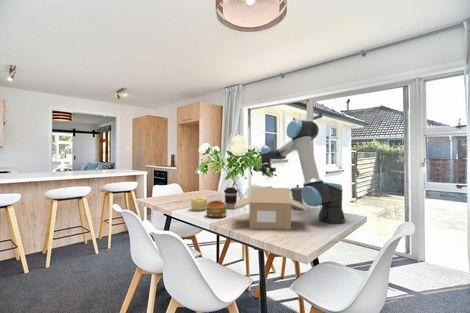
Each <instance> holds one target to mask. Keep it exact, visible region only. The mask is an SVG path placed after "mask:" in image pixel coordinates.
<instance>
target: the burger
mask: <svg viewBox="0 0 470 313" xmlns="http://www.w3.org/2000/svg"><path fill="white" fill-rule="evenodd" d="M205 211H206V215H207V217H208V218H215V219H216V218H223V217H225V216H226V214H227V213H228V211H227V207H226V203H225V202H224V201H222V200H212V201H209V202H207V207H206V209H205Z"/></svg>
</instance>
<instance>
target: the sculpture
mask: <svg viewBox="0 0 470 313" xmlns="http://www.w3.org/2000/svg"><path fill="white" fill-rule="evenodd" d="M207 204H208V197H207V196H204V195H201V194H198V195H194V196H193V197H191V202H190V206H191V209H192V210H193V211H195V212H202V211H206V208H207Z"/></svg>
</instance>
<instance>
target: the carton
mask: <svg viewBox="0 0 470 313" xmlns="http://www.w3.org/2000/svg"><path fill="white" fill-rule="evenodd" d="M250 202H251V196H248V197H246V198H242V199H239V200H236V204H235V207H234V209H233V210H235V209H238V208H241V207H244V206H246V205H249V229H250V230H268V231H269V230H270V231H271V230H274V231H275V230H276V231H291V230H292V209H291V205H294V206H296V207H299V208H301V209H303V210H305V211H308V209H307V207H305V206H304V204H303V205H302V204H301V203H300V202H297V201H295V200H293V198H290V203H291V204H277V203H250Z"/></svg>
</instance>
